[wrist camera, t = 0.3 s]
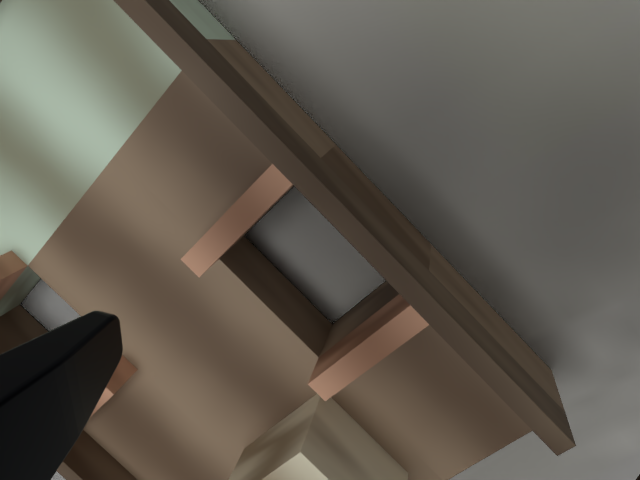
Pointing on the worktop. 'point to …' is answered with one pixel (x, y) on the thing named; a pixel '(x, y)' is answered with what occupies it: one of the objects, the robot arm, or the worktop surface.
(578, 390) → the worktop surface
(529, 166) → the worktop surface
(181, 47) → the brown wooden tray
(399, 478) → the birch block
